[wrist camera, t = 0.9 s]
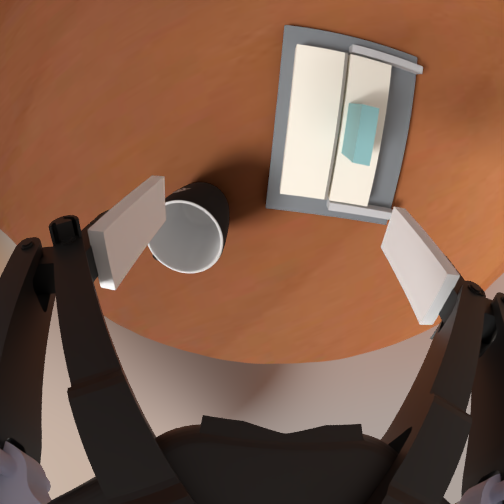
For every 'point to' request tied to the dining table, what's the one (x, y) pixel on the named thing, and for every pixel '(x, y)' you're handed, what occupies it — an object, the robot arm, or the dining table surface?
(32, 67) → the dining table surface
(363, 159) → the white long block
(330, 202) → the board
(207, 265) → the mug
